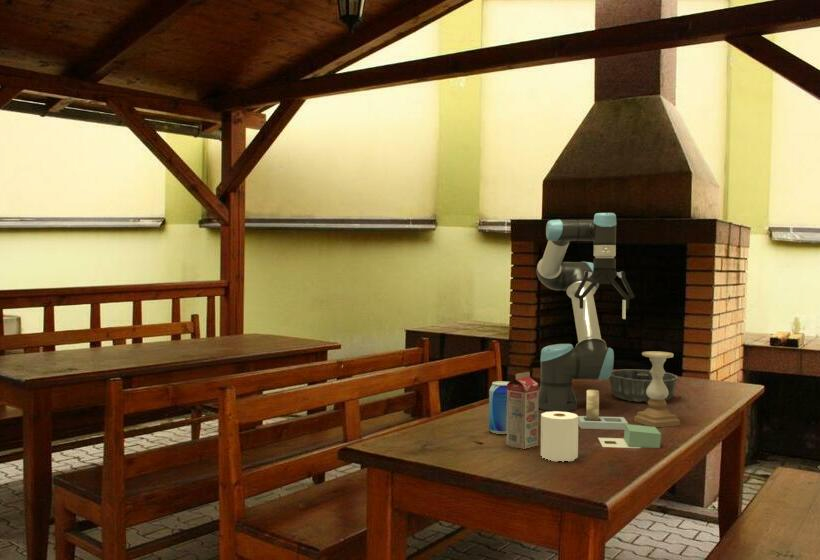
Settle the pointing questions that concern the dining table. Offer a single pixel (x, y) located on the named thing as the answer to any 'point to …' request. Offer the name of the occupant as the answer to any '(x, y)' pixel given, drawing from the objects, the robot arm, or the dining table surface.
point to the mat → (620, 442)
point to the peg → (592, 405)
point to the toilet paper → (559, 436)
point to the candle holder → (657, 395)
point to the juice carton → (522, 411)
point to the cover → (642, 436)
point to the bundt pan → (637, 384)
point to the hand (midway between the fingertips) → (603, 318)
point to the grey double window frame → (603, 423)
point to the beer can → (498, 407)
